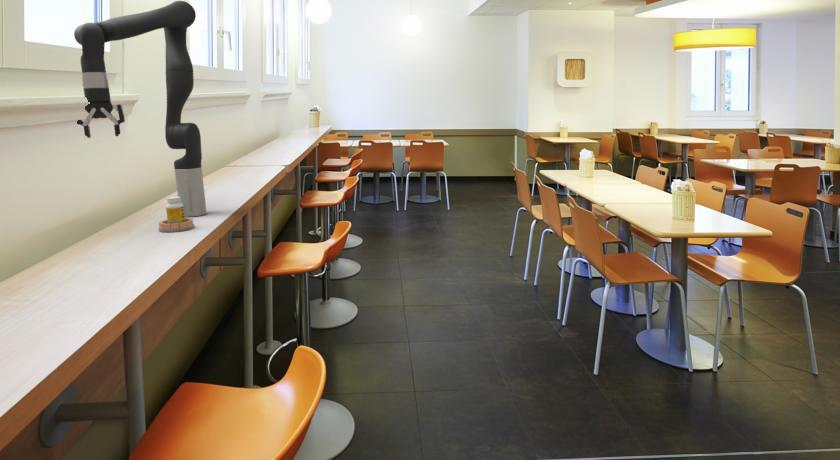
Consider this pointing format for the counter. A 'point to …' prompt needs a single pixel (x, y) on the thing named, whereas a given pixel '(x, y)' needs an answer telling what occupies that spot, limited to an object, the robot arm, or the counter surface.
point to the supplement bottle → (175, 210)
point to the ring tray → (176, 226)
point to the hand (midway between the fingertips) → (103, 136)
